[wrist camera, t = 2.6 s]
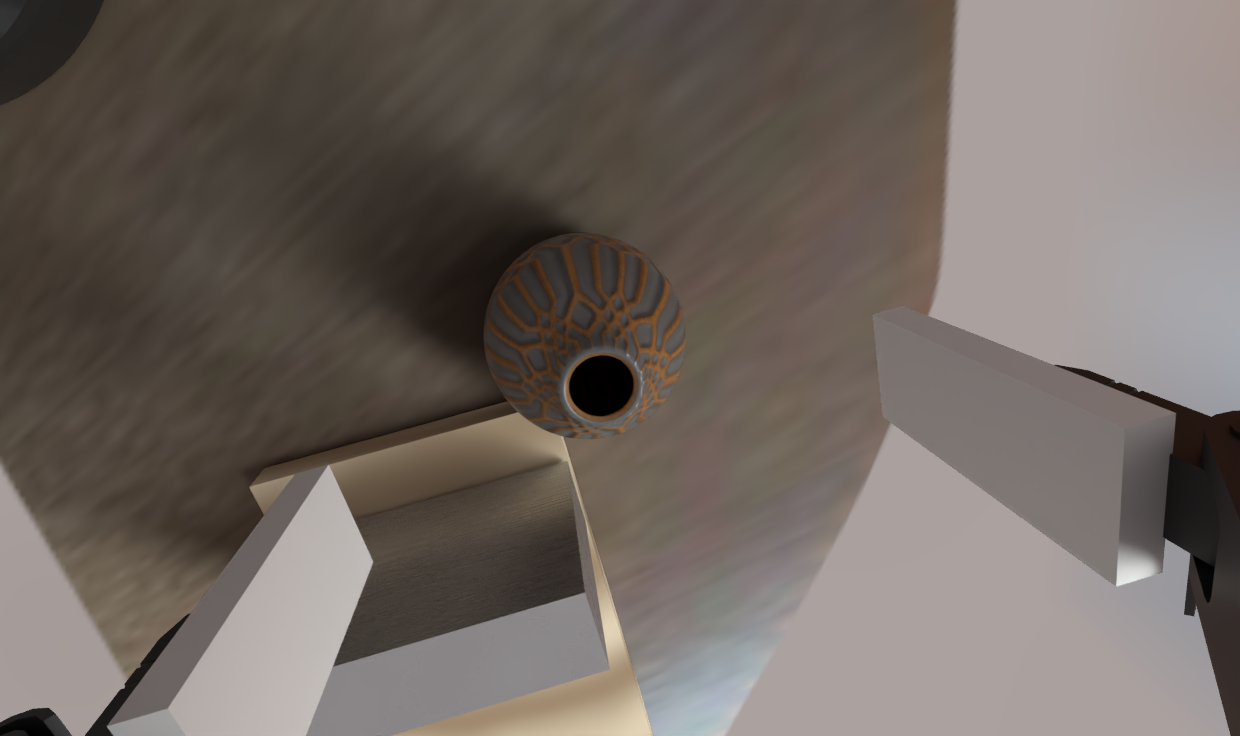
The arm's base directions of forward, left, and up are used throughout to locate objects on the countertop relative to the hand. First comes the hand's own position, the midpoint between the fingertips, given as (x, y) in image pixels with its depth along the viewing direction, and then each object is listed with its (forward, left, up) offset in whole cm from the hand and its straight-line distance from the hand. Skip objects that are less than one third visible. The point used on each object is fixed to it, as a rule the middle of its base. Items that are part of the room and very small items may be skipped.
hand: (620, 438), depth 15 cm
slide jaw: (+7, -8, -9) cm, 14 cm away
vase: (0, 0, -11) cm, 11 cm away
